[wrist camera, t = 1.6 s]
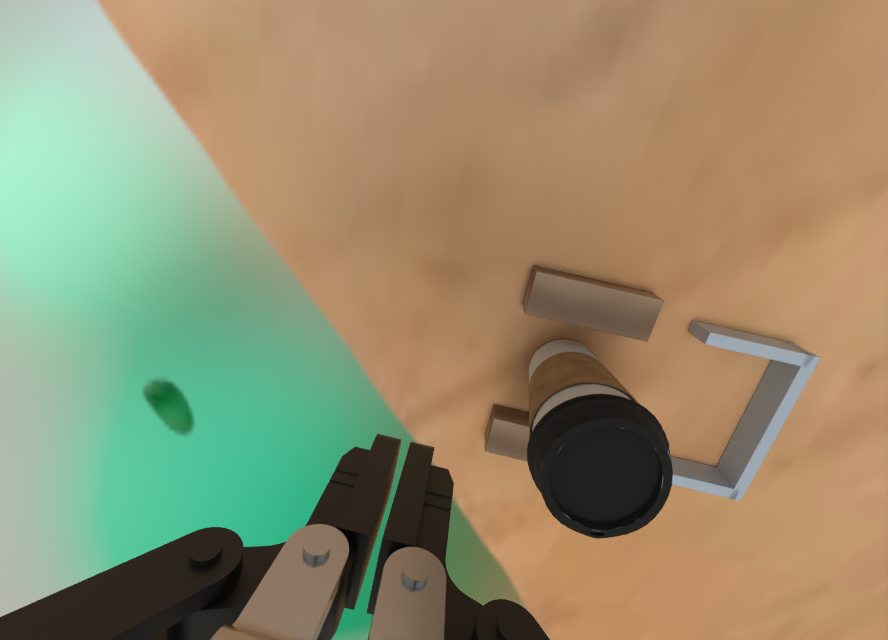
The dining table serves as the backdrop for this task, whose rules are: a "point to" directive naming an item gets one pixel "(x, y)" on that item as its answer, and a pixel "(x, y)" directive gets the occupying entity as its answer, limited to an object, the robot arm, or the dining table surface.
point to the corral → (749, 411)
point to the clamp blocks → (576, 306)
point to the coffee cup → (593, 445)
